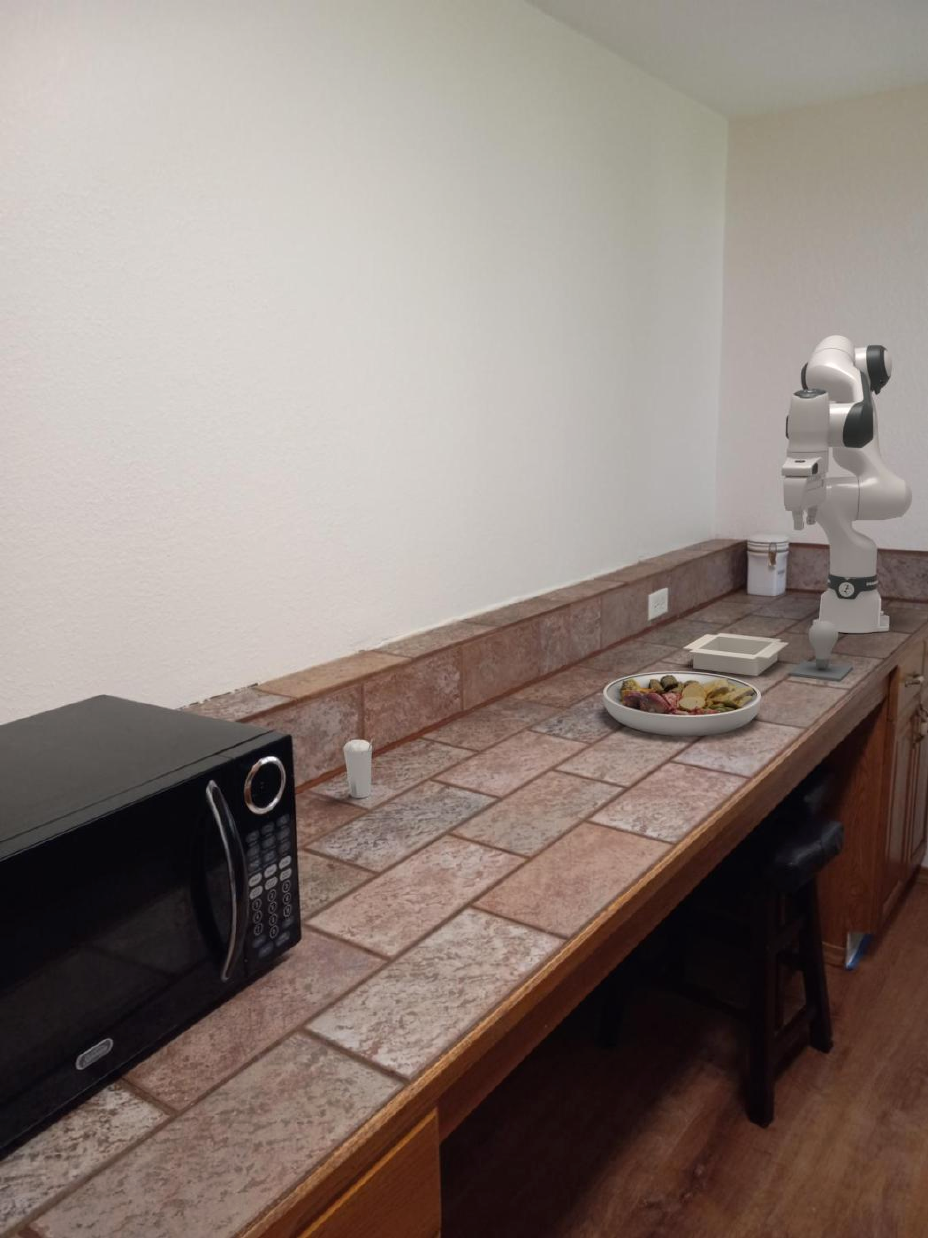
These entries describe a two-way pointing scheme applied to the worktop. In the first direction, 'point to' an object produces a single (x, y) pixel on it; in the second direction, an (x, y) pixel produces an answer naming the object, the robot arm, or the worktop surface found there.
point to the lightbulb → (823, 641)
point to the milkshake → (358, 767)
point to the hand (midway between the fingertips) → (805, 527)
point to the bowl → (682, 702)
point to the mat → (820, 671)
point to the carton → (735, 653)
